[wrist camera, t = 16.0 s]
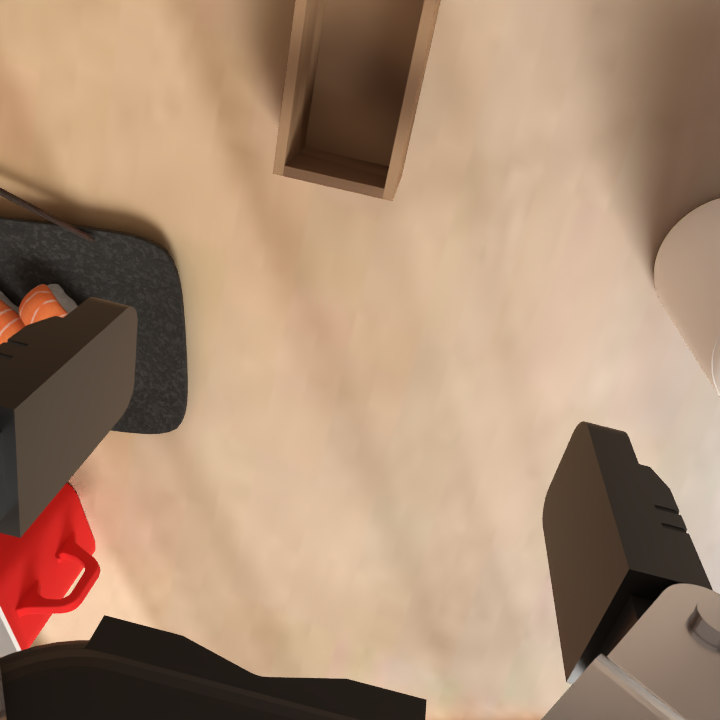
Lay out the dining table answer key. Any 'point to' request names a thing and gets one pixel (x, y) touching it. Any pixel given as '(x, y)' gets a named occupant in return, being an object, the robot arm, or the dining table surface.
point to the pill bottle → (694, 284)
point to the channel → (353, 91)
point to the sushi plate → (108, 282)
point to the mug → (44, 570)
